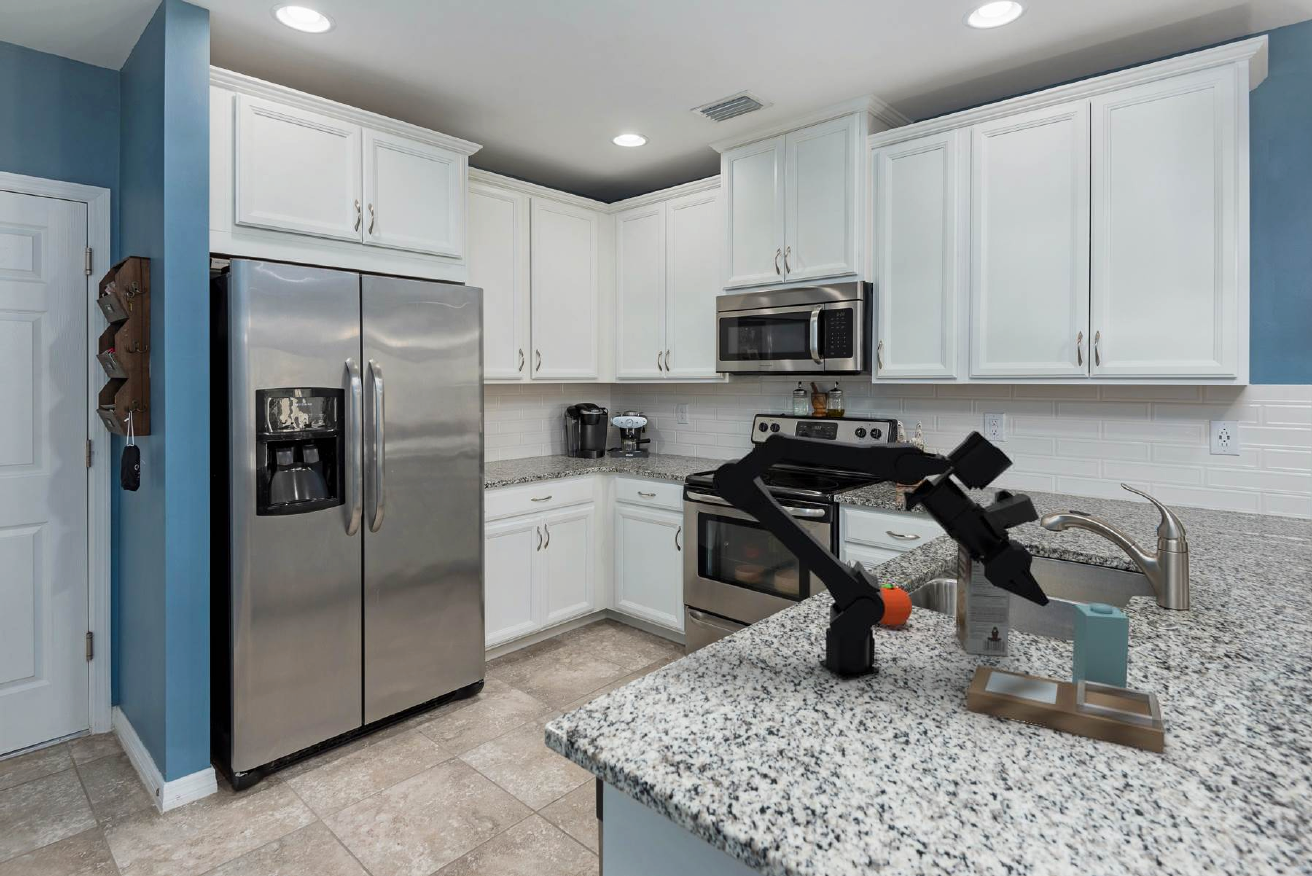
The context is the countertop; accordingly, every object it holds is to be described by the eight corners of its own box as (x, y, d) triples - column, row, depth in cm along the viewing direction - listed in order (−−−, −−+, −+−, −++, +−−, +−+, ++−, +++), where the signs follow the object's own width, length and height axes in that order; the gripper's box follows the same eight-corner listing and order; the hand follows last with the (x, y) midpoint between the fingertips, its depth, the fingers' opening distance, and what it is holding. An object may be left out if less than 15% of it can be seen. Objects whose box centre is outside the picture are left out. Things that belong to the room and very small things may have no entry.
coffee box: (954, 634, 120) (956, 541, 118) (994, 636, 118) (996, 543, 117) (966, 654, 111) (969, 554, 109) (1010, 657, 109) (1013, 556, 108)
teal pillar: (1084, 698, 95) (1087, 610, 94) (1072, 683, 100) (1075, 599, 99) (1125, 702, 94) (1129, 613, 93) (1111, 686, 99) (1115, 601, 98)
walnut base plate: (966, 709, 92) (967, 684, 92) (977, 682, 100) (978, 658, 100) (1163, 753, 81) (1164, 724, 80) (1157, 718, 89) (1158, 691, 89)
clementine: (858, 620, 127) (859, 581, 127) (887, 614, 130) (888, 577, 130) (890, 634, 120) (891, 593, 119) (920, 627, 123) (921, 588, 122)
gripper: (1017, 483, 89) (1110, 574, 87) (986, 466, 107) (1063, 542, 105) (948, 540, 91) (1037, 630, 90) (930, 514, 110) (1003, 589, 108)
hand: (1036, 594), depth 98 cm, fingers open, 9 cm apart
